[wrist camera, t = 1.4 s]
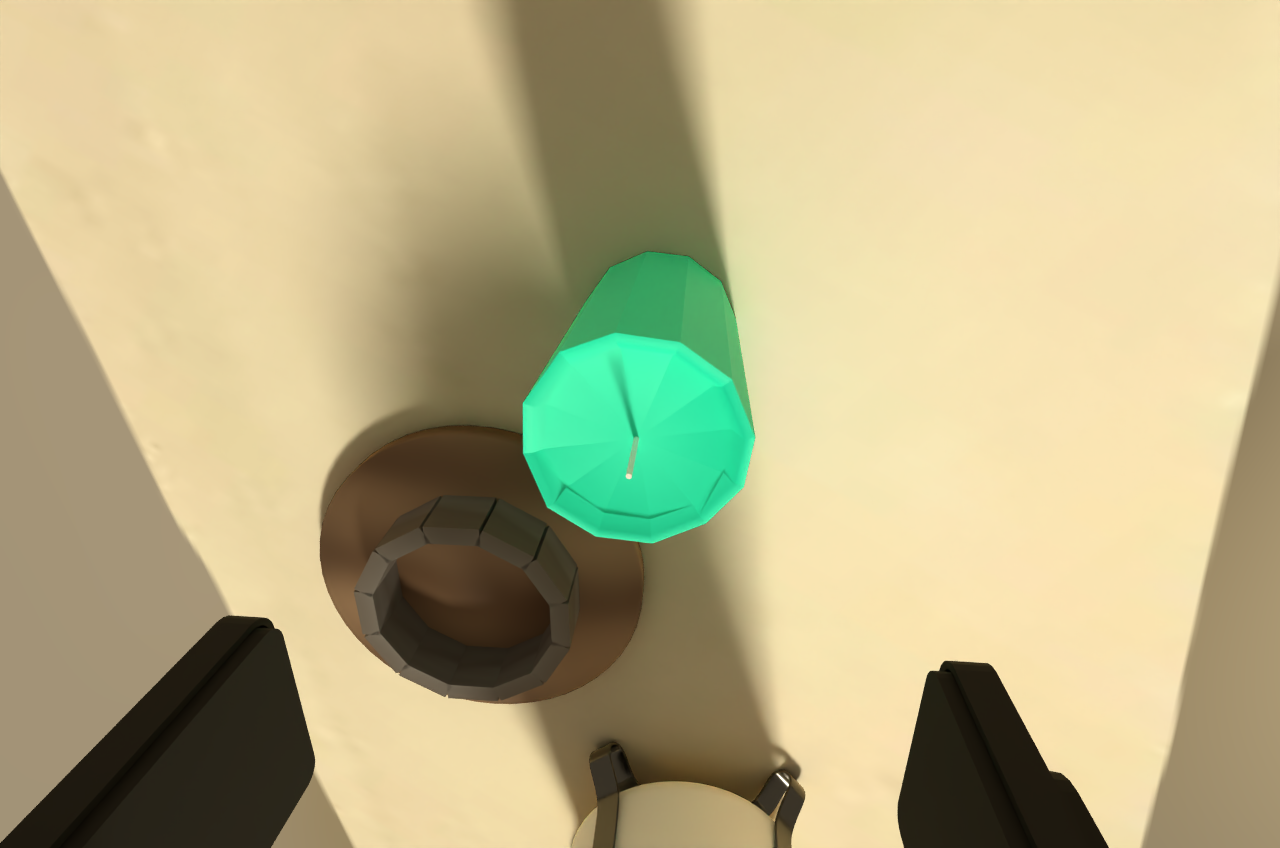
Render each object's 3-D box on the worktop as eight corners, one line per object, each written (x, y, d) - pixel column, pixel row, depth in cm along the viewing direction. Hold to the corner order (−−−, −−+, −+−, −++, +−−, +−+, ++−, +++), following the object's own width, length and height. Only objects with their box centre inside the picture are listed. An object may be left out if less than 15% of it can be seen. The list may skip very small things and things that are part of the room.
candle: (728, 239, 25) (747, 336, 14) (742, 390, 27) (769, 572, 17) (569, 262, 26) (473, 369, 15) (597, 406, 28) (531, 590, 17)
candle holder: (301, 419, 30) (253, 455, 26) (645, 432, 28) (638, 471, 25) (359, 679, 36) (326, 734, 33) (643, 697, 35) (637, 756, 32)
